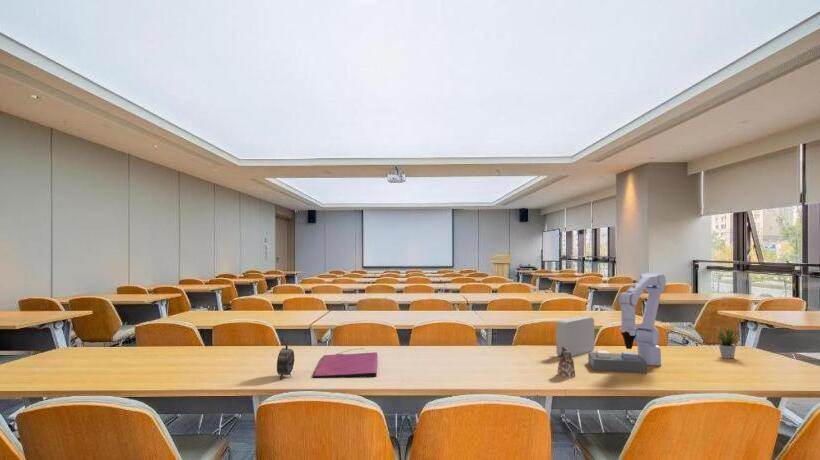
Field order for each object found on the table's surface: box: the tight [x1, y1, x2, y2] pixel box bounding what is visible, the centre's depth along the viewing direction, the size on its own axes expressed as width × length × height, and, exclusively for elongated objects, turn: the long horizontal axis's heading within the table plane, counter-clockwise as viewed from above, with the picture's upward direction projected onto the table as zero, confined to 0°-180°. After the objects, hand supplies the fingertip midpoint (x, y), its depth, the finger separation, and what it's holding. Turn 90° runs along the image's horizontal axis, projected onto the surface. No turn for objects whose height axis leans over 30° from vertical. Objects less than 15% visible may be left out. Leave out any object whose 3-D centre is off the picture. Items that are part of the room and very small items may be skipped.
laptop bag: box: [312, 348, 379, 379], centre depth 208 cm, size 40×4×27 cm
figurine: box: [557, 347, 576, 379], centre depth 192 cm, size 7×7×12 cm
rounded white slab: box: [555, 316, 596, 358], centre depth 234 cm, size 29×8×18 cm, turn 129°
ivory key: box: [596, 350, 610, 358], centre depth 205 cm, size 5×5×4 cm
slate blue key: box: [621, 351, 637, 359], centre depth 203 cm, size 5×5×4 cm
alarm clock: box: [276, 338, 295, 381], centre depth 189 cm, size 11×5×16 cm, turn 178°
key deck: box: [587, 351, 648, 375], centre depth 204 cm, size 22×14×5 cm, turn 77°
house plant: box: [713, 325, 742, 359], centre depth 224 cm, size 14×14×16 cm
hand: (628, 348), depth 203 cm, fingers closed
